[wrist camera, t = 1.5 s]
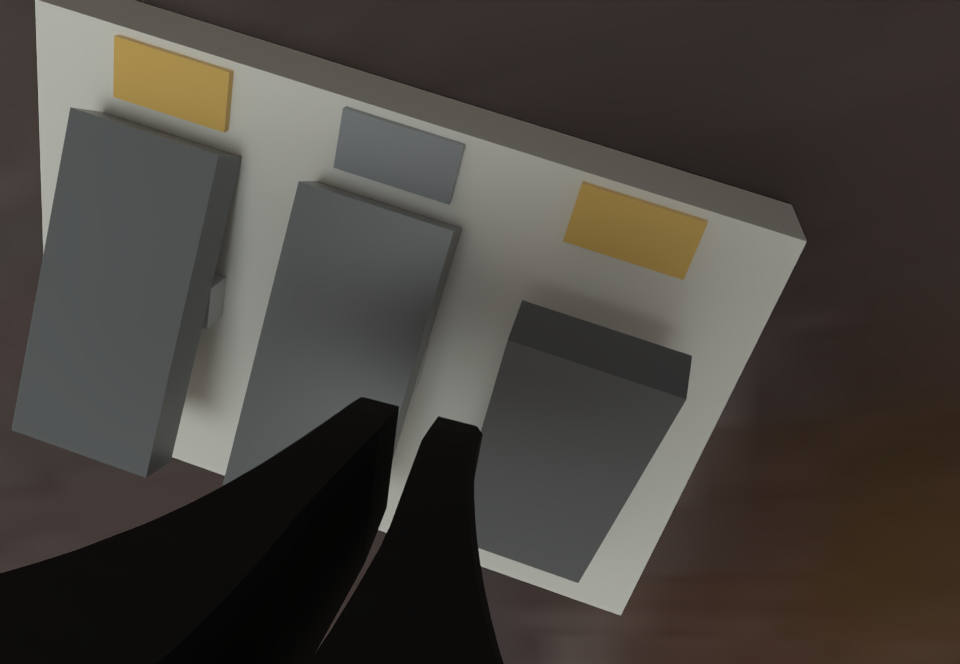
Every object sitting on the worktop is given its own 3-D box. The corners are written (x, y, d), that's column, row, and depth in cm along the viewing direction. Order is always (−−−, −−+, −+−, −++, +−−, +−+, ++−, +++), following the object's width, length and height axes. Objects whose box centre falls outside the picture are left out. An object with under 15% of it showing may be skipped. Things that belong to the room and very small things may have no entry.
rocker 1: (241, 156, 19) (218, 155, 18) (171, 460, 21) (145, 478, 19) (102, 111, 19) (70, 107, 18) (43, 416, 21) (11, 429, 20)
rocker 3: (692, 355, 16) (686, 399, 15) (586, 544, 22) (578, 583, 21) (522, 299, 16) (507, 339, 15) (462, 501, 22) (449, 537, 21)
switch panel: (791, 204, 19) (812, 255, 16) (625, 555, 25) (619, 637, 22) (103, -10, 20) (9, 2, 17) (100, 372, 26) (30, 428, 23)
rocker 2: (462, 228, 18) (454, 231, 17) (371, 531, 20) (357, 553, 19) (317, 181, 19) (298, 181, 17) (239, 485, 20) (218, 503, 19)
